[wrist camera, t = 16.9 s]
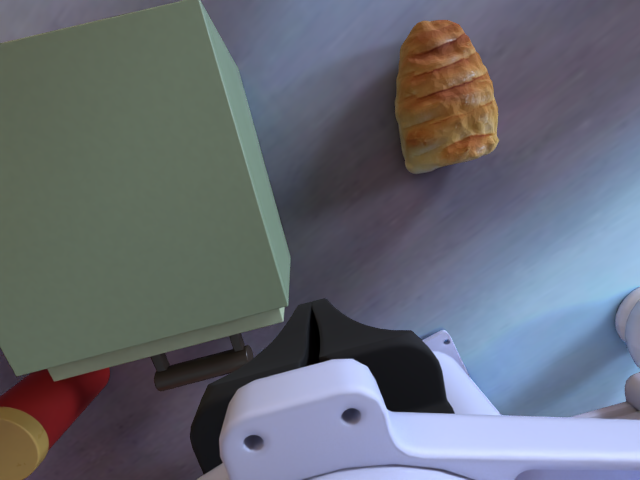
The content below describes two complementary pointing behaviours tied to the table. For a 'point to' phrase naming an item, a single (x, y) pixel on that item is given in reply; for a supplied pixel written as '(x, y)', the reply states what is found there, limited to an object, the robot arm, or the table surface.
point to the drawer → (187, 370)
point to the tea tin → (41, 417)
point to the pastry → (443, 99)
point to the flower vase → (630, 324)
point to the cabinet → (129, 189)
